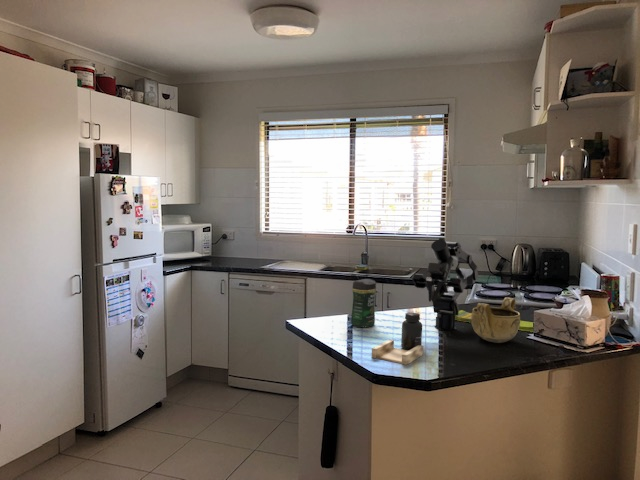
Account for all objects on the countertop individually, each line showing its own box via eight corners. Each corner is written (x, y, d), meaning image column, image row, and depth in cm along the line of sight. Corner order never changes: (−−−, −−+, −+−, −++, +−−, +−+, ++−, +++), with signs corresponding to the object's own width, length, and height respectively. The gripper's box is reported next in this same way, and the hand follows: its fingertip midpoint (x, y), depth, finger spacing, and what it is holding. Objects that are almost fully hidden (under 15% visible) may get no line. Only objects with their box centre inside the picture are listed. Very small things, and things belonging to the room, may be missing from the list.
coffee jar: (363, 329, 202) (365, 281, 200) (347, 325, 207) (349, 279, 206) (378, 325, 209) (379, 279, 208) (362, 321, 214) (363, 276, 213)
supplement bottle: (421, 352, 174) (422, 316, 173) (400, 350, 175) (401, 315, 174) (421, 346, 181) (422, 312, 180) (401, 344, 182) (402, 310, 181)
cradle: (389, 348, 177) (389, 339, 177) (422, 354, 171) (423, 345, 171) (371, 357, 167) (371, 348, 166) (406, 365, 160) (406, 355, 160)
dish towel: (461, 314, 233) (461, 307, 233) (546, 328, 212) (546, 320, 212) (448, 321, 221) (448, 313, 221) (536, 335, 200) (537, 327, 200)
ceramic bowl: (500, 351, 176) (503, 308, 175) (456, 340, 188) (458, 299, 187) (530, 340, 191) (533, 299, 190) (488, 330, 203) (490, 292, 202)
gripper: (414, 252, 199) (401, 285, 190) (462, 256, 188) (450, 291, 180) (422, 270, 206) (409, 302, 198) (468, 275, 196) (457, 309, 187)
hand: (430, 301), depth 191 cm, fingers closed
